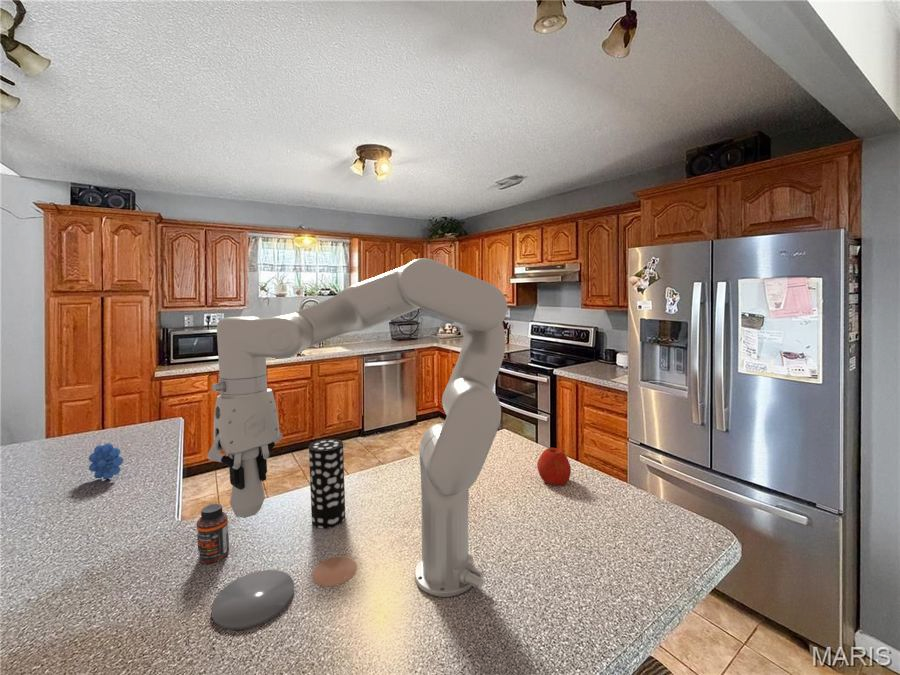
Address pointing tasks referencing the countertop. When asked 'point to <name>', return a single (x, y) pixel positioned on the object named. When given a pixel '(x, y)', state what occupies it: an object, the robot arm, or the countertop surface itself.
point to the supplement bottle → (212, 534)
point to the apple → (554, 467)
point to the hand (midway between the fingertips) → (249, 482)
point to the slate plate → (252, 599)
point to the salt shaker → (248, 487)
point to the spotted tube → (327, 483)
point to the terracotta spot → (334, 571)
